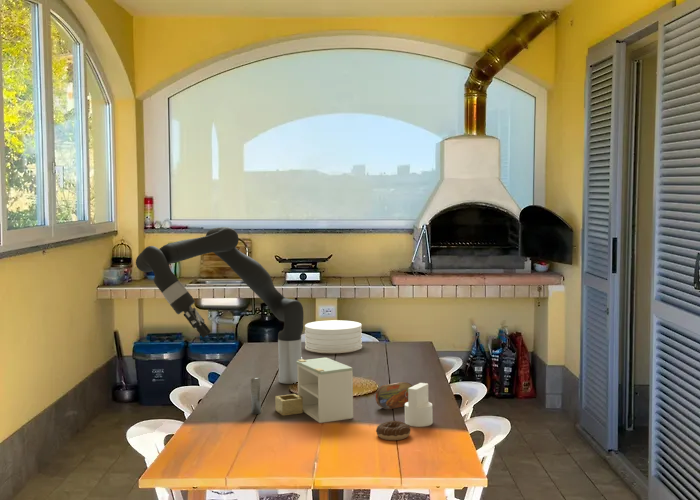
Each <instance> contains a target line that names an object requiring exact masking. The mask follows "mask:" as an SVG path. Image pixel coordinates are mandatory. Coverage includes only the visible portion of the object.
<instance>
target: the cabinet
mask: <svg viewBox="0 0 700 500" xmlns="http://www.w3.org/2000/svg"><path fill="white" fill-rule="evenodd" d="M296 364H297V371H298V383H297V395H300V396H302V397H303V411H302V413H305V414H306V415H308V416H309V417H311V418H312V419H314V420H315V421H316V422H318V423H319V424H322V423H329V422H335V421H336V422H337V421H343V420H349V419H350V420H351V419H354V393H353V392H354V390H353V389H354V388H353V387H354V386H353V385H354V383H353V381H354V380H353V378H354V377H353V370H354V368H353V367H351V366H349V365H347V364H344V363H341V362H339V361H336V360H334V359H331V358H329V357H327V356H326V357H320V358H311V359H304V358H303V359H300V360H298V361H296Z"/></svg>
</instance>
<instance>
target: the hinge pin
mask: <svg viewBox="0 0 700 500" xmlns="http://www.w3.org/2000/svg"><path fill="white" fill-rule="evenodd" d="M250 400H251V401H250V405H251V406H250V408H251V410H250V411H251V414H252V415H259V414H261V413H262V411H261V409H262V408H261V406H262V405H261V404H262V403H261V377H260V376H259V377H257V376H256V377H255V376H254V377H251V378H250Z"/></svg>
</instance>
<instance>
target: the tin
mask: <svg viewBox="0 0 700 500" xmlns="http://www.w3.org/2000/svg"><path fill="white" fill-rule="evenodd" d="M412 386H413V384H411V383H410V382H404V381H400V382H395V383H394V382H393V383H388V384H383V385H380V387H378V388H377V390H376V391H375V403H376V404H377V405H378V406H379V407H380V408H382V409H384V410H391V409H392V410H393V409H397V408H403V407H404V408H405V403H406V402H408V388H410V387H412Z"/></svg>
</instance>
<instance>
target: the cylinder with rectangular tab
mask: <svg viewBox="0 0 700 500" xmlns="http://www.w3.org/2000/svg"><path fill="white" fill-rule="evenodd" d="M433 421H434V420H433V403H432V402H430V401H429V383H427V382H426V383H425V382H418V383H417V384H414V385H412V387H410V388H408V402H406V403H405V407H404V423H406V424H407V425H408V426H409V427H410V426H411V427H415V428H416V427H417V428H418V427H420V428H421V427H428V426H429V427H430V426H431V425H432V424H433V423H434V422H433Z"/></svg>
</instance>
